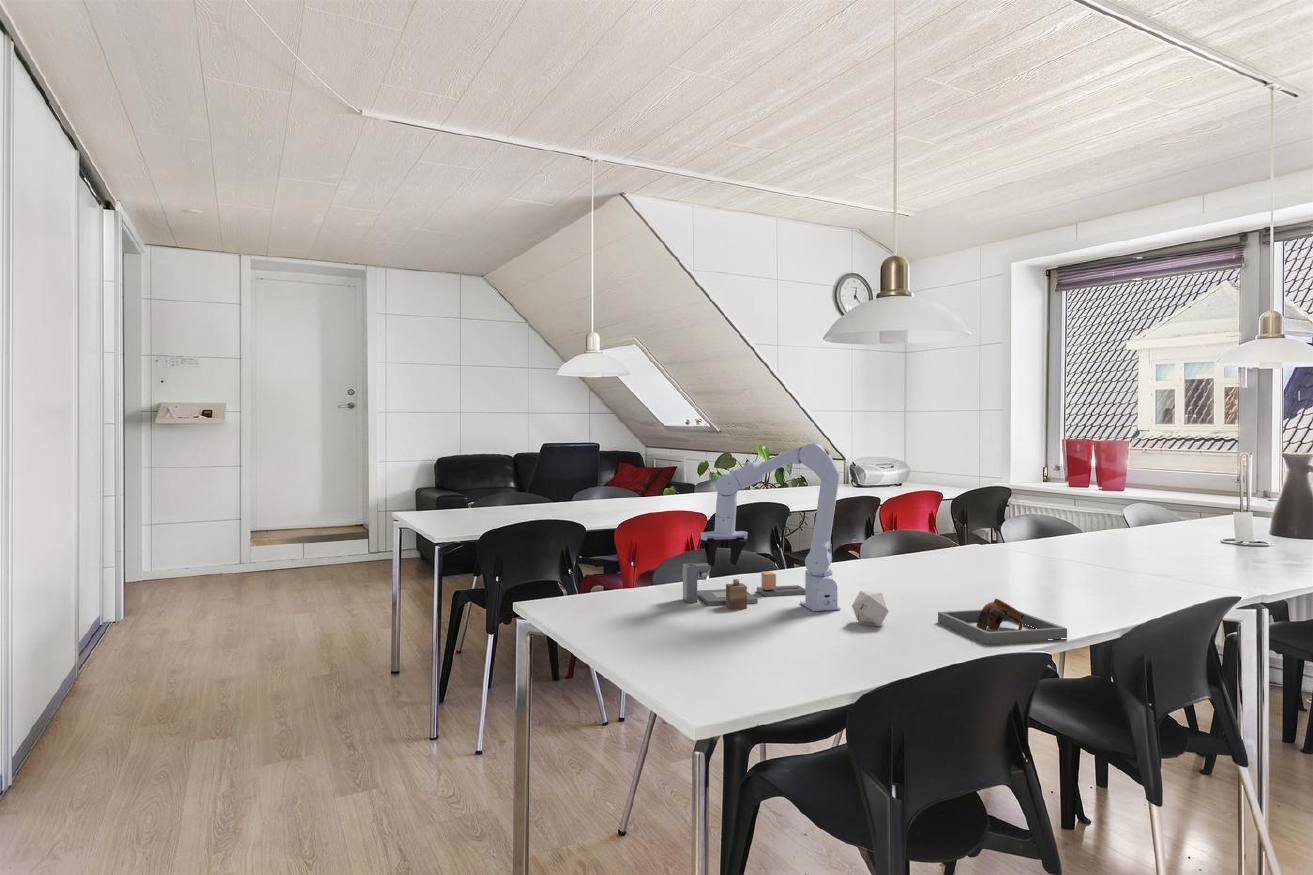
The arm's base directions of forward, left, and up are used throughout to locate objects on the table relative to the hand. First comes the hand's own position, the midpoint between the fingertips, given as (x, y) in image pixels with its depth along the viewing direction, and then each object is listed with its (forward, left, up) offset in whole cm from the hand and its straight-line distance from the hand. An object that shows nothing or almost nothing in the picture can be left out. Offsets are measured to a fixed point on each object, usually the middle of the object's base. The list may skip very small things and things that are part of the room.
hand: (722, 564), depth 214 cm
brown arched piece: (-45, -55, -10) cm, 72 cm away
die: (-33, -28, -10) cm, 45 cm away
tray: (-45, -55, -10) cm, 72 cm away
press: (+1, +1, -10) cm, 10 cm away
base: (+5, -19, -10) cm, 22 cm away
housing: (-9, -1, -10) cm, 14 cm away
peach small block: (+5, -15, -8) cm, 18 cm away
